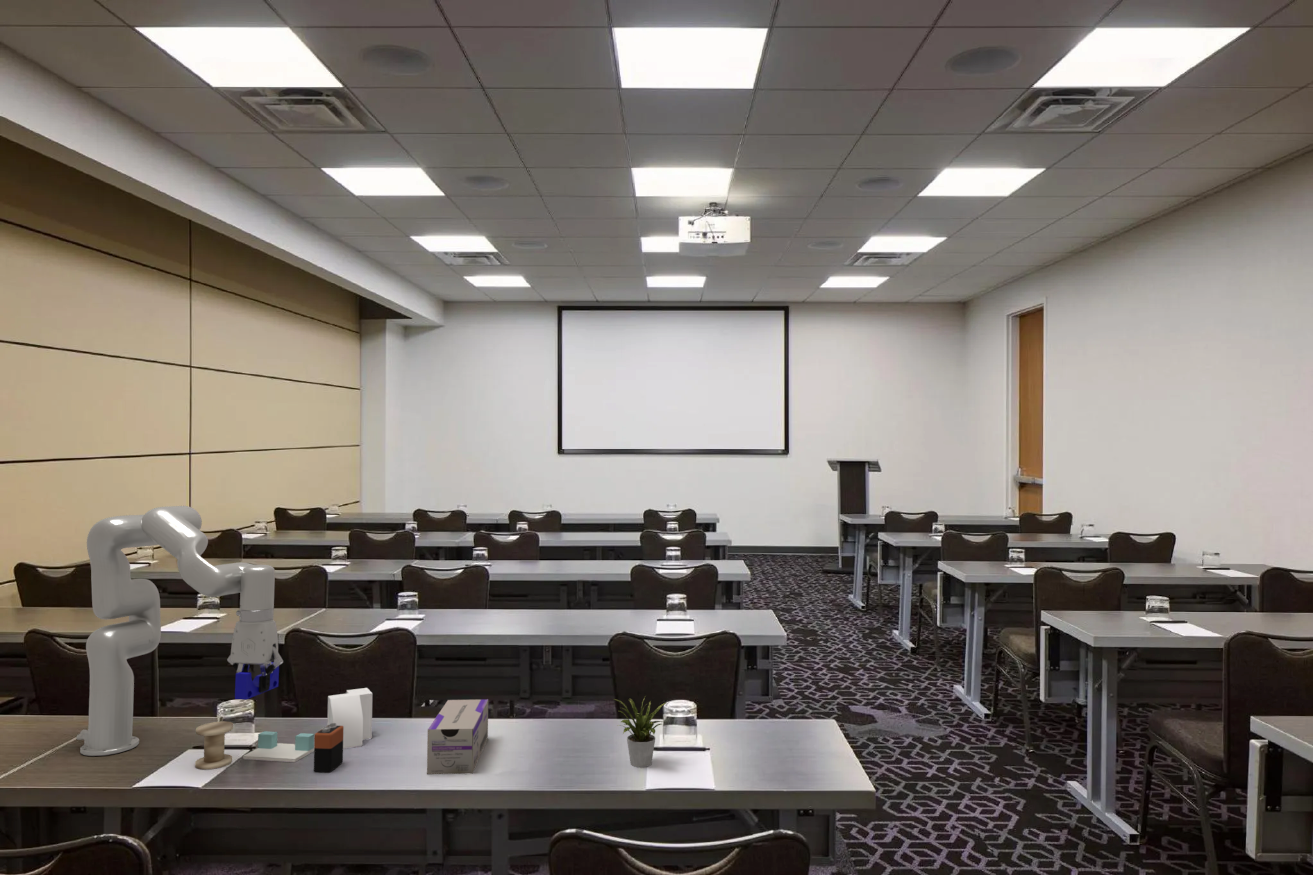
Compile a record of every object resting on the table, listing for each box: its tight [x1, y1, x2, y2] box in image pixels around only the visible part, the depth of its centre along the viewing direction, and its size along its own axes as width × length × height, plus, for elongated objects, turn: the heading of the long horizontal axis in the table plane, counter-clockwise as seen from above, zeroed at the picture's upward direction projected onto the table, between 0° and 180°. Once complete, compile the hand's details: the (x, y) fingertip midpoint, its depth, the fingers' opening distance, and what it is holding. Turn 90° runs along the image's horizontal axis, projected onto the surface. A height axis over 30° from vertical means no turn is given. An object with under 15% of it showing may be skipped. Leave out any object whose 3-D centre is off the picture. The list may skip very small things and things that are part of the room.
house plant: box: [614, 695, 668, 768], centre depth 199 cm, size 14×14×16 cm
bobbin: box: [194, 721, 234, 771], centre depth 198 cm, size 8×8×9 cm
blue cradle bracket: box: [234, 661, 280, 701], centre depth 199 cm, size 12×4×6 cm, turn 170°
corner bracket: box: [326, 687, 373, 750], centre depth 215 cm, size 11×11×12 cm
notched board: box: [242, 730, 315, 763], centre depth 205 cm, size 14×10×4 cm
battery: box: [313, 723, 344, 773], centre depth 196 cm, size 4×7×10 cm, turn 176°
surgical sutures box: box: [426, 698, 489, 775], centre depth 204 cm, size 25×11×11 cm, turn 4°
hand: (254, 689), depth 199 cm, fingers closed on blue cradle bracket, 4 cm apart
